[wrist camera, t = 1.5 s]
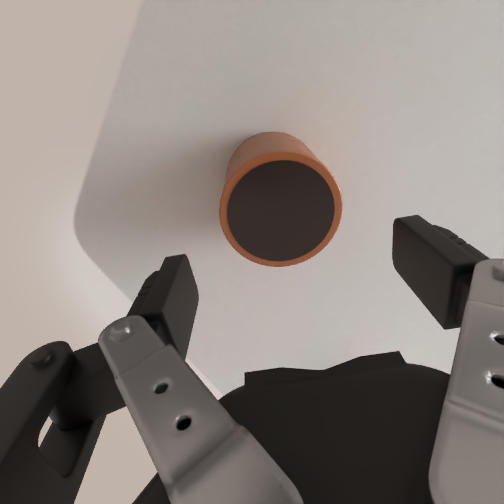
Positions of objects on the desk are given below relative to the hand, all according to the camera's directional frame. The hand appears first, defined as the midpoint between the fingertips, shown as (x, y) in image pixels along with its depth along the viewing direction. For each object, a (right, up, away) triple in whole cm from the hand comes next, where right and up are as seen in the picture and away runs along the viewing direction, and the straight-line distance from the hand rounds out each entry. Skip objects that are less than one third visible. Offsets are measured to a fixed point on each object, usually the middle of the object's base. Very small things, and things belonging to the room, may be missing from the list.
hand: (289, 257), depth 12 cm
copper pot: (0, +5, +9) cm, 11 cm away
